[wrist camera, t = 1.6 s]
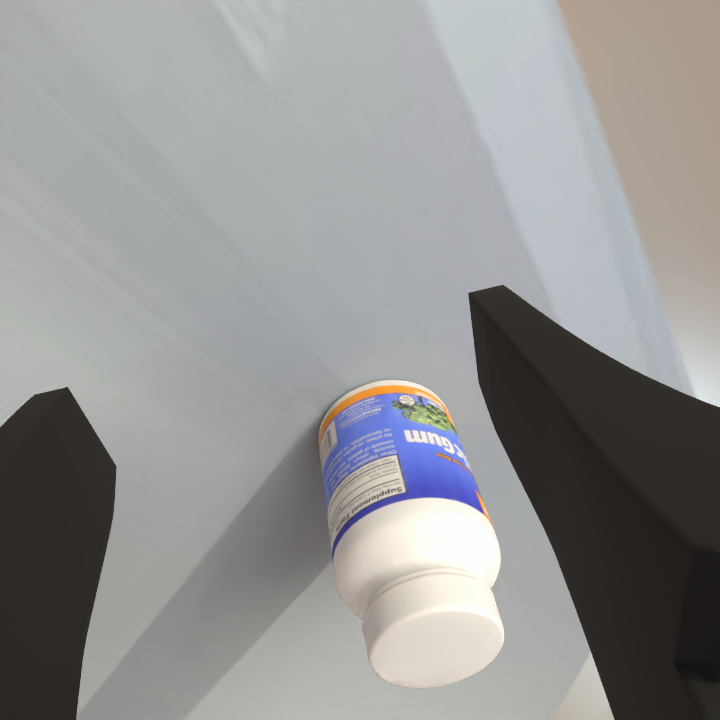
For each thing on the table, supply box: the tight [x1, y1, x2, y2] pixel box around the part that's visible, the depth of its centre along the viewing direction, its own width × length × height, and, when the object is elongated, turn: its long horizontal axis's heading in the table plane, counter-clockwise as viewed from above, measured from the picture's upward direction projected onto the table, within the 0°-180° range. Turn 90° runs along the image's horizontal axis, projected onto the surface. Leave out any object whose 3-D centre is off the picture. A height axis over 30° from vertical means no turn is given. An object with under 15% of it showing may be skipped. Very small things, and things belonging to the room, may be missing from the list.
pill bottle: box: [319, 380, 504, 688], centre depth 23 cm, size 5×5×10 cm
